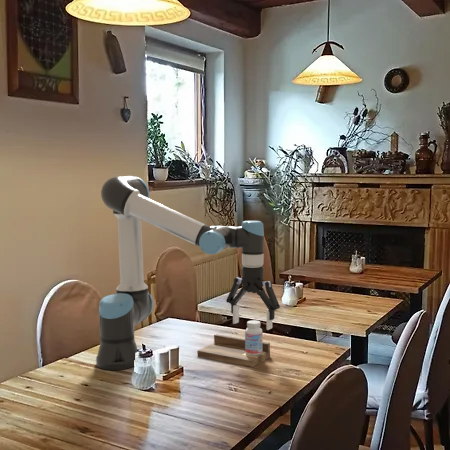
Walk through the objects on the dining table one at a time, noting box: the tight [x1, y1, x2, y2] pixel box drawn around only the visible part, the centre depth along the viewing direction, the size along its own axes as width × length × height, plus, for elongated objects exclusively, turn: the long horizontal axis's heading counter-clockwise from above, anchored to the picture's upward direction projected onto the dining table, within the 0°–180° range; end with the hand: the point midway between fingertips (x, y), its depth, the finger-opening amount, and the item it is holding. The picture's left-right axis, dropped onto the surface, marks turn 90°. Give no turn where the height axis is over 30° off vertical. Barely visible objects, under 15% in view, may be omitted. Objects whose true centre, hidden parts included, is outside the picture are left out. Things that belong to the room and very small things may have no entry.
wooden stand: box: [196, 333, 271, 367], centre depth 210 cm, size 12×23×5 cm, turn 56°
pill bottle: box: [244, 319, 264, 356], centre depth 206 cm, size 6×6×11 cm
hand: (252, 325), depth 205 cm, fingers open, 13 cm apart
